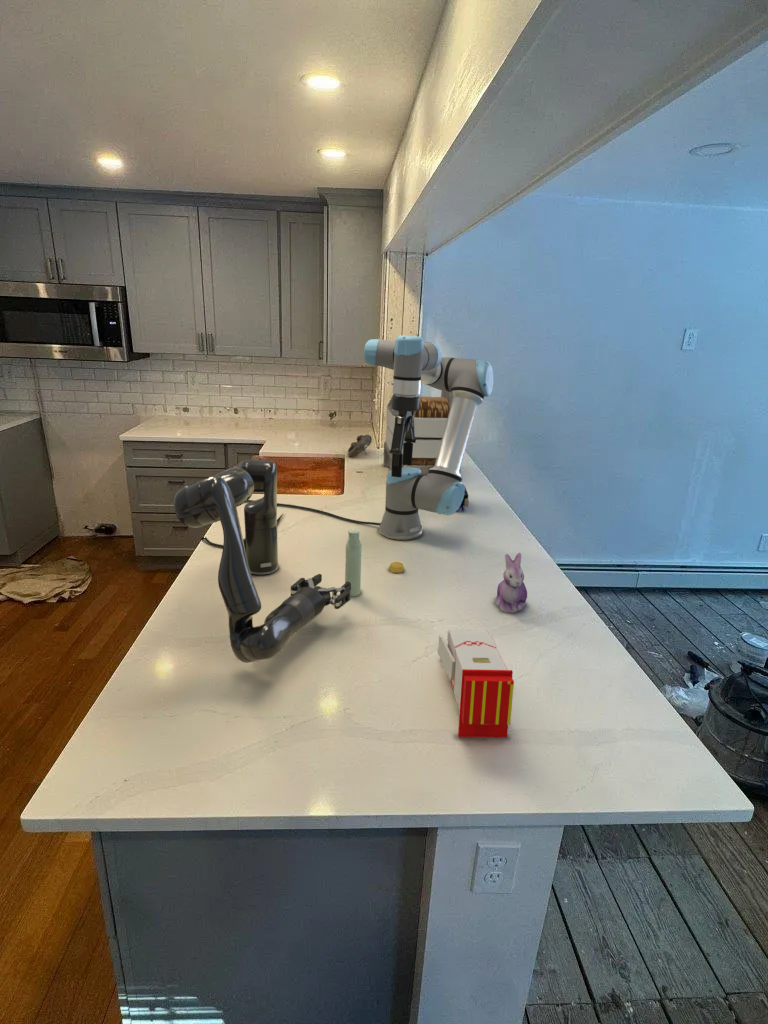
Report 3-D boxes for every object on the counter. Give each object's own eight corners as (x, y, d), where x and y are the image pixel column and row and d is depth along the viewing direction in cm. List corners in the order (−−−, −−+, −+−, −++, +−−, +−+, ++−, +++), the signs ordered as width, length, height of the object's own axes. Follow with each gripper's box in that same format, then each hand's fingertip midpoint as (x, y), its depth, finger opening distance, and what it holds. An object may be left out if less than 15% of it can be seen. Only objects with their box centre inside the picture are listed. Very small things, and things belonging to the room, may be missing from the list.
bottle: (349, 587, 160) (350, 527, 154) (362, 591, 159) (364, 530, 152) (342, 593, 156) (343, 532, 150) (355, 597, 155) (357, 535, 149)
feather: (290, 508, 223) (292, 504, 223) (272, 532, 197) (275, 527, 196) (286, 505, 223) (289, 501, 223) (268, 529, 197) (271, 525, 196)
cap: (386, 569, 172) (387, 563, 172) (397, 566, 175) (397, 560, 174) (395, 574, 169) (396, 568, 169) (406, 570, 172) (406, 565, 171)
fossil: (347, 440, 315) (369, 425, 310) (358, 454, 318) (379, 439, 313) (341, 454, 295) (364, 438, 290) (353, 468, 298) (375, 452, 293)
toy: (488, 613, 130) (523, 677, 101) (484, 667, 133) (517, 744, 104) (435, 612, 130) (455, 676, 101) (432, 666, 133) (451, 743, 103)
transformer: (382, 463, 289) (386, 382, 275) (445, 464, 293) (451, 384, 279) (390, 482, 257) (394, 392, 243) (460, 483, 261) (468, 394, 247)
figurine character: (468, 516, 224) (463, 500, 237) (471, 498, 221) (465, 483, 234) (452, 515, 224) (447, 499, 237) (453, 498, 220) (449, 482, 234)
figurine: (509, 617, 148) (516, 565, 143) (485, 599, 156) (491, 550, 151) (537, 610, 152) (544, 559, 147) (512, 593, 161) (519, 544, 156)
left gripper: (326, 602, 128) (359, 574, 142) (274, 587, 134) (311, 561, 148) (326, 630, 131) (358, 600, 145) (275, 615, 136) (311, 587, 150)
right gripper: (402, 388, 167) (399, 458, 174) (381, 400, 144) (377, 480, 151) (428, 390, 165) (423, 461, 172) (409, 402, 142) (405, 483, 149)
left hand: (334, 581), depth 146 cm, fingers open, 8 cm apart
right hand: (401, 470), depth 161 cm, fingers open, 13 cm apart
